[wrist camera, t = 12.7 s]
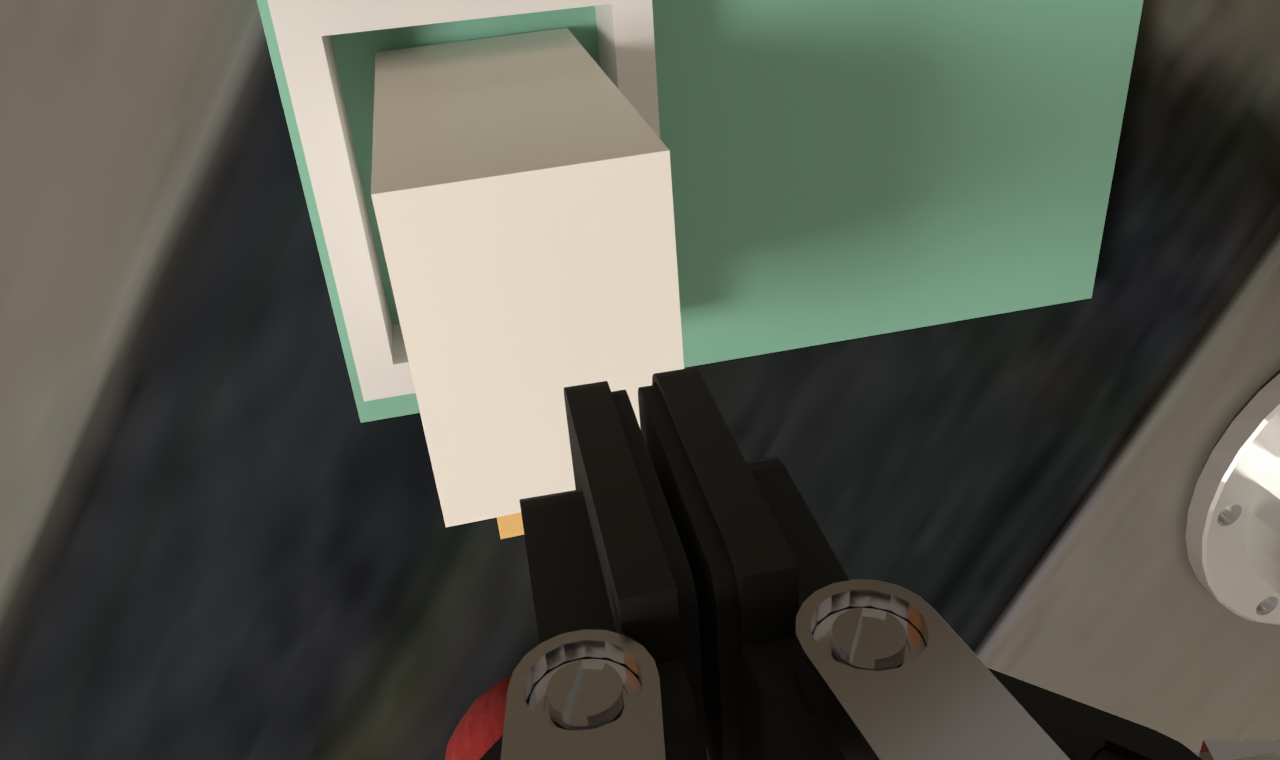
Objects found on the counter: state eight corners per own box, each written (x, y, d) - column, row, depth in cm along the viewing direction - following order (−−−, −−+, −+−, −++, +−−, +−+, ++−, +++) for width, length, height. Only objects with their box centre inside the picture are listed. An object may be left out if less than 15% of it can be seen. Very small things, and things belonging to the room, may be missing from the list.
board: (1148, -198, 23) (1244, -198, 20) (1070, 283, 29) (1136, 329, 26) (235, -118, 20) (213, -107, 17) (361, 402, 26) (359, 467, 23)
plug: (567, 27, 21) (669, 150, 14) (596, 289, 24) (693, 508, 17) (375, 52, 21) (371, 194, 13) (430, 316, 24) (452, 556, 16)
